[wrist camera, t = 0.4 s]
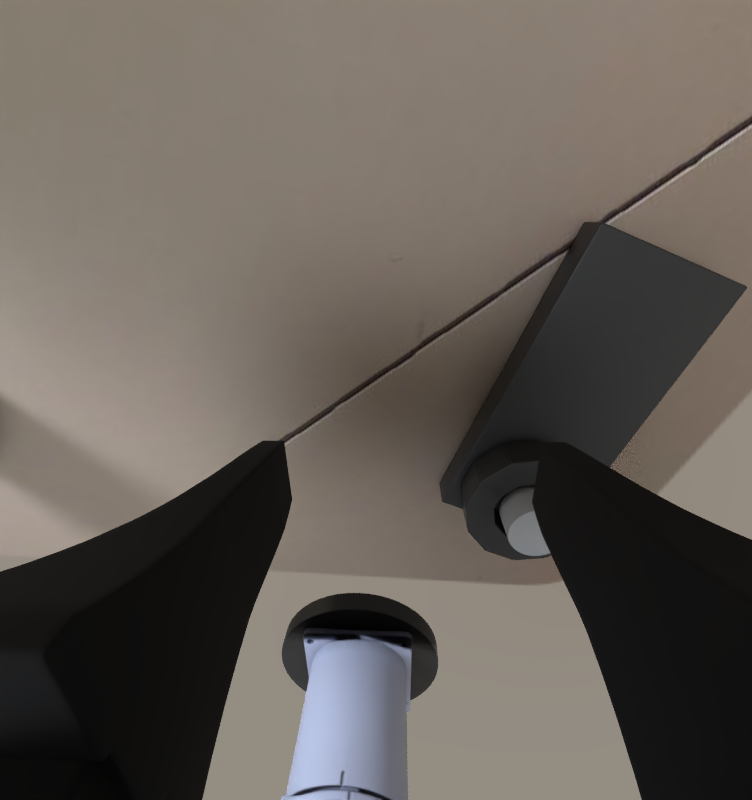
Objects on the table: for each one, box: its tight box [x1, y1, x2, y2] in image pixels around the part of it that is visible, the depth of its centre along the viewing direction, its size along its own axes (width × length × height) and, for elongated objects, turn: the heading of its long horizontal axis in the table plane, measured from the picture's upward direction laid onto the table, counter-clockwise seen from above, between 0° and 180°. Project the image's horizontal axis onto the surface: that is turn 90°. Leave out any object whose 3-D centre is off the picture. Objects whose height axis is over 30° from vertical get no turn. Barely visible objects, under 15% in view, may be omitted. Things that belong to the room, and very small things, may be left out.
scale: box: [440, 222, 747, 560], centre depth 16 cm, size 14×6×3 cm, turn 159°
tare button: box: [499, 486, 550, 556], centre depth 16 cm, size 2×2×2 cm
